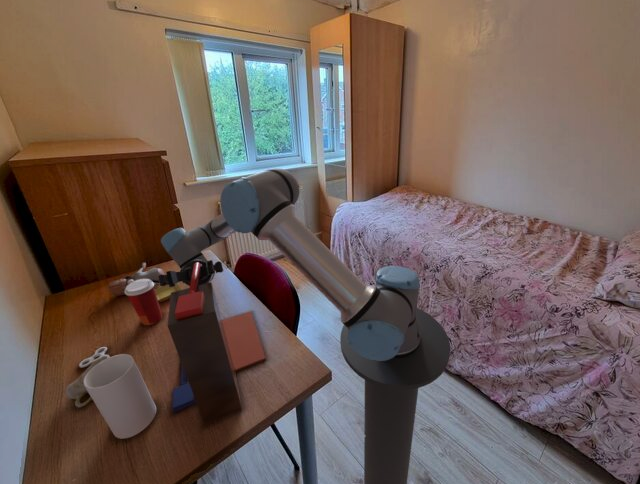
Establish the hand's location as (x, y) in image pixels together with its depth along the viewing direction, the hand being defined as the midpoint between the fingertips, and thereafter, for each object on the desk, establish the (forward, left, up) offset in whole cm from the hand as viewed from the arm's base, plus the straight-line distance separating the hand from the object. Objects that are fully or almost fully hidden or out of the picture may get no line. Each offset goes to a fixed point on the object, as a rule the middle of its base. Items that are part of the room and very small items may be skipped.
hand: (187, 273), depth 61 cm
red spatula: (-1, +1, -3) cm, 4 cm away
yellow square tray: (+14, -47, -32) cm, 59 cm away
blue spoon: (+8, -5, -32) cm, 34 cm away
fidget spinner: (+30, -23, -32) cm, 50 cm away
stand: (0, +6, -32) cm, 33 cm away
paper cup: (+18, -34, -32) cm, 51 cm away
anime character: (+24, -58, -32) cm, 71 cm away
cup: (+18, +3, -32) cm, 37 cm away
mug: (+28, -11, -32) cm, 44 cm away
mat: (-6, -11, -32) cm, 35 cm away
